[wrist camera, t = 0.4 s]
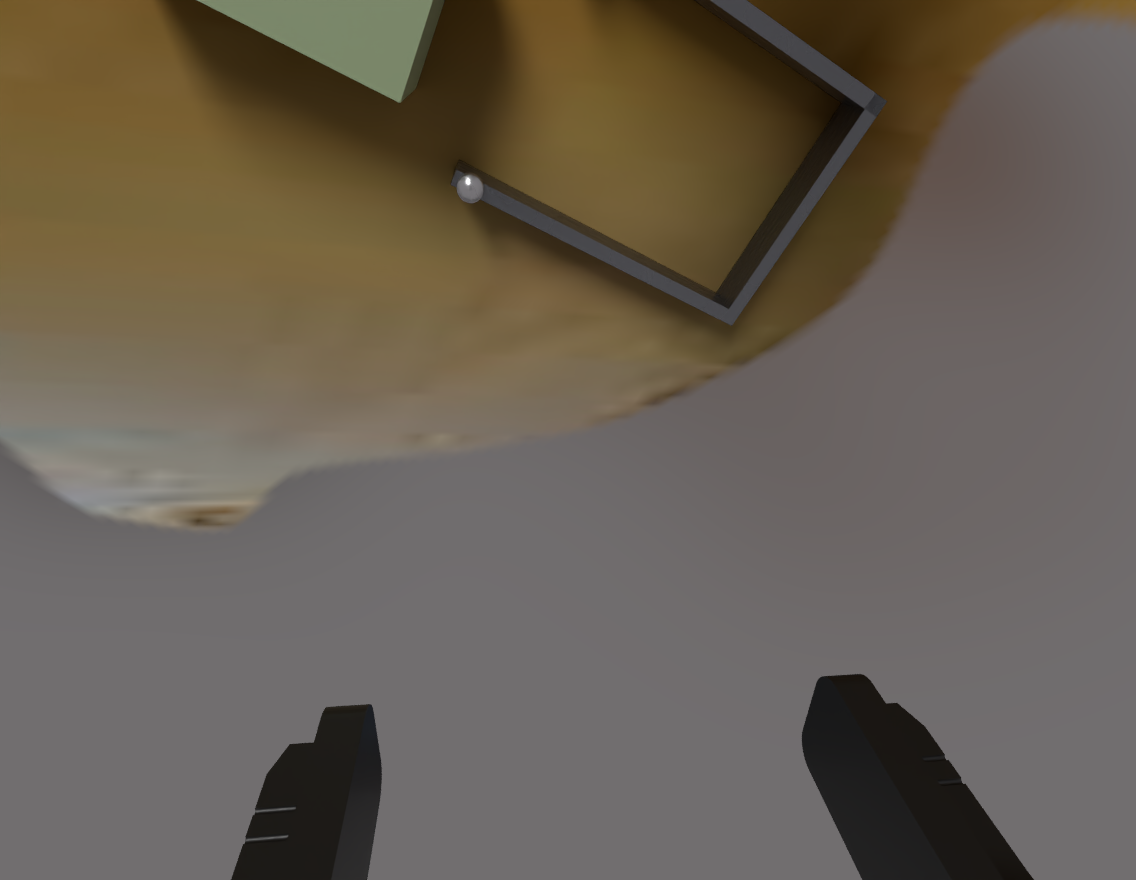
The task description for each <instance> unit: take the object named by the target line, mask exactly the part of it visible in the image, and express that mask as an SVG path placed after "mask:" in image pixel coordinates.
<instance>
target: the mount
mask: <svg viewBox="0 0 1136 880" xmlns="http://www.w3.org/2000/svg"><path fill="white" fill-rule="evenodd" d="M694 1H696V2H697V3H699V4H700V5H702V6H703V7H705V8H706V9H707V10H709V11H710V12H712V13H713V14H715V15H716V16H717V17H719V18H720V19H722V20H723V21H725V22H726V23H728V24H729V25H730V26H732V27H733V28H735V29H736V30H738V31H739V32H740V33H742V34H743V35H745V36H746V37H748V38H749V39H751V40H752V41H753V42H755V43H756V44H758V45H759V46H761V47H762V48H763V49H765V50H766V51H768V52H769V53H771V54H772V55H774V56H775V57H776V58H778V59H779V60H781V61H782V62H784V63H785V64H786V65H788V66H789V67H791V68H792V69H794V70H795V71H797V72H798V73H799V74H801V75H802V76H804V77H805V78H807V79H808V80H809V81H811V82H812V83H814V84H815V85H817V86H818V87H820V88H821V89H822V90H824V91H825V92H827V93H828V94H830V95H831V96H832V97H834V98H835V99H837V100H838V101H840V102H841V105H840V106H839V108H838V109H837V111H836V112H835V114H834V115H833V117H832V118H831V120H830V121H829V123H828V124H827V126H826V127H825V129H824V130H823V132H822V133H821V135H820V136H819V138H818V139H817V141H816V143H815V144H814V146H813V147H812V149H811V150H810V152H809V153H808V155H807V156H806V158H805V159H804V161H803V162H802V164H801V165H800V167H799V168H798V170H797V171H796V173H795V174H794V176H793V177H792V179H791V180H790V182H789V183H788V185H787V186H786V188H785V189H784V191H783V193H782V194H781V196H780V197H779V199H778V200H777V202H776V203H775V205H774V206H773V208H772V209H771V211H770V212H769V214H768V215H767V217H766V218H765V220H764V221H763V223H762V224H761V226H760V227H759V229H758V230H757V232H756V233H755V235H754V236H753V238H752V239H751V241H750V242H749V244H748V246H747V247H746V249H745V250H744V252H743V253H742V255H741V256H740V258H739V259H738V261H737V262H736V264H735V265H734V267H733V268H732V270H731V271H730V273H729V274H728V276H727V277H726V279H725V280H724V282H723V283H722V285H721V286H720V288H719V289H718V291H717V292H716V293H715V292H713V291H712V290H710V289H708V288H706V287H704V286H702V285H700V284H698V283H696V282H694V281H692V280H690V279H688V278H686V277H684V276H683V275H681V274H679V273H677V272H675V271H673V270H671V269H669V268H667V267H665V266H663V265H661V264H659V263H657V262H656V261H654V260H652V259H650V258H648V257H646V256H644V255H642V254H640V253H638V252H636V251H634V250H632V249H630V248H629V247H627V246H625V245H623V244H621V243H619V242H617V241H615V240H613V239H611V238H609V237H607V236H605V235H603V234H601V233H600V232H598V231H596V230H594V229H592V228H590V227H588V226H586V225H584V224H582V223H580V222H578V221H576V220H574V219H573V218H571V217H569V216H567V215H565V214H563V213H561V212H559V211H557V210H555V209H553V208H551V207H549V206H547V205H546V204H544V203H542V202H540V201H538V200H536V199H534V198H532V197H530V196H528V195H526V194H524V193H522V192H520V191H519V190H517V189H515V188H513V187H511V186H509V185H507V184H505V183H503V182H501V181H499V180H497V179H495V178H493V177H491V176H490V175H488V174H486V173H484V172H482V171H480V170H478V169H476V168H474V167H472V166H470V165H468V164H466V163H464V162H463V161H461V160H459V162H458V164H457V167H456V169H455V172H454V174H453V178H452V182H451V185H452V186H454V187H456V188H457V193H458V195H459V197H460V198H461V199H462V200H463V201H465V202H467V203H475V202H477V201H479V200H482V201H484V202H486V203H488V204H490V205H492V206H494V207H496V208H498V209H500V210H502V211H504V212H506V213H508V214H510V215H512V216H514V217H516V218H518V219H520V220H522V221H524V222H526V223H528V224H530V225H532V226H534V227H536V228H538V229H540V230H542V231H544V232H546V233H548V234H550V235H552V236H554V237H556V238H558V239H560V240H562V241H564V242H566V243H568V244H570V245H572V246H574V247H576V248H578V249H580V250H582V251H584V252H586V253H588V254H590V255H592V256H594V257H596V258H598V259H600V260H602V261H604V262H606V263H608V264H610V265H612V266H614V267H616V268H618V269H620V270H622V271H624V272H626V273H628V274H630V275H632V276H634V277H636V278H638V279H640V280H642V281H644V282H646V283H648V284H650V285H652V286H654V287H655V288H657V289H659V290H661V291H663V292H665V293H667V294H669V295H671V296H673V297H675V298H677V299H679V300H681V301H683V302H685V303H687V304H689V305H691V306H693V307H695V308H697V309H699V310H701V311H703V312H705V313H707V314H709V315H711V316H713V317H715V318H717V319H719V320H721V321H723V322H725V323H727V324H729V325H731V326H732V325H733V323H734V322H735V320H736V319H737V318H738V316H739V315H740V313H741V312H742V310H743V309H744V307H745V306H746V305H747V303H748V302H749V300H750V299H751V297H752V296H753V294H754V293H755V292H756V290H757V289H758V287H759V286H760V284H761V283H762V281H763V280H764V279H765V277H766V276H767V274H768V273H769V271H770V270H771V268H772V267H773V266H774V264H775V263H776V261H777V260H778V258H779V257H780V255H781V254H782V253H783V251H784V250H785V248H786V247H787V245H788V244H789V242H790V241H791V240H792V238H793V237H794V235H795V234H796V232H797V231H798V229H799V228H800V227H801V225H802V224H803V222H804V221H805V219H806V218H807V216H808V215H809V214H810V212H811V211H812V209H813V208H814V206H815V205H816V203H817V202H818V201H819V199H820V198H821V196H822V195H823V193H824V192H825V190H826V189H827V188H828V186H829V185H830V183H831V182H832V180H833V179H834V177H835V176H836V175H837V173H838V172H839V170H840V169H841V167H842V166H843V164H844V163H845V162H846V160H847V159H848V157H849V156H850V154H851V153H852V151H853V150H854V149H855V147H856V146H857V144H858V143H859V141H860V140H861V138H862V137H863V136H864V134H865V133H866V131H867V130H868V128H869V127H870V125H871V124H872V123H873V121H874V120H875V118H876V117H877V115H878V114H879V112H880V111H881V110H882V108H883V107H884V105H885V104H886V102H887V101H886V100H884V99H883V98H882V97H880V96H879V95H877V94H876V93H875V92H873V91H872V90H871V89H869V88H868V87H866V86H865V85H864V84H862V83H861V82H859V81H858V80H857V79H855V78H854V77H852V76H851V75H850V74H848V73H847V72H845V71H844V70H843V69H841V68H840V67H839V66H837V65H836V64H834V63H833V62H832V61H830V60H829V59H827V58H826V57H825V56H823V55H822V54H820V53H819V52H818V51H816V50H815V49H814V48H812V47H811V46H809V45H808V44H807V43H805V42H804V41H802V40H801V39H800V38H798V37H797V36H795V35H794V34H793V33H791V32H790V31H789V30H787V29H786V28H784V27H783V26H782V25H780V24H779V23H777V22H776V21H775V20H773V19H772V18H770V17H769V16H768V15H766V14H765V13H763V12H762V11H761V10H759V9H758V8H757V7H755V6H754V5H752V4H751V3H750V2H748V1H747V0H694Z"/></svg>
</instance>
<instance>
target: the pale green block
mask: <svg viewBox="0 0 1136 880" xmlns="http://www.w3.org/2000/svg"><path fill="white" fill-rule="evenodd" d="M197 1H199V2H201V3H203V4H205V5H207V6H209V7H211V8H213V9H215V10H217V11H219V12H221V13H223V14H225V15H227V16H229V17H231V18H233V19H235V20H237V21H239V22H241V23H243V24H245V25H247V26H249V27H251V28H253V29H255V30H257V31H259V32H261V33H263V34H264V35H266V36H268V37H270V38H272V39H274V40H276V41H278V42H280V43H282V44H284V45H286V46H288V47H290V48H292V49H294V50H296V51H298V52H300V53H302V54H304V55H306V56H308V57H310V58H312V59H314V60H316V61H318V62H320V63H322V64H324V65H326V66H328V67H330V68H332V69H334V70H336V71H338V72H340V73H341V74H343V75H345V76H347V77H349V78H351V79H353V80H355V81H357V82H359V83H361V84H363V85H365V86H367V87H369V88H371V89H373V90H375V91H377V92H379V93H381V94H383V95H385V96H387V97H389V98H391V99H393V100H395V101H397V102H399V103H401V102H402V101H403V100H404V99H405V98H406V97H407V96H408V95H410V94H411V93H412V92H413V91H414V90H415V89H416V87H417V84H418V81H419V78H420V75H421V72H422V69H423V66H424V63H425V59H426V56H427V53H428V50H429V47H430V44H431V41H432V38H433V35H434V32H435V29H436V26H437V23H438V20H439V17H440V14H441V11H442V7H443V4H444V1H445V0H197Z"/></svg>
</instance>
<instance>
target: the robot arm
mask: <svg viewBox="0 0 1136 880" xmlns="http://www.w3.org/2000/svg"><path fill="white" fill-rule="evenodd" d="M802 747H803V753H804V757H805V760H806V764H807V766H808V769H809V771H810V773H811V775H812V777H813V779H814V781H815V783H816V785H817V787H818V789H819V791H820V793H821V795H822V797H823V799H824V802H825V804H826V806H827V808H828V810H829V812H830V814H831V816H832V818H833V820H834V822H835V824H836V826H837V828H838V831H839V833H840V834H841V837H842V839H843V841H844V843H845V845H846V847H847V849H848V851H849V853H850V855H851V857H852V859H853V861H854V863H855V865H856V868H857V870H858V871H859V874H860V876H861V878H862V880H1034V879H1033V878H1032V877H1031V875H1030V874H1029V873H1028V871H1027V870H1026V869H1025V867H1024V866H1023V864H1022V863H1021V862H1020V860H1019V859H1018V857H1017V856H1016V855H1015V853H1014V852H1013V850H1012V849H1011V847H1010V846H1009V845H1008V843H1007V842H1006V840H1005V839H1004V838H1003V836H1002V835H1001V833H1000V832H999V830H998V829H997V828H996V826H995V825H994V824H993V822H992V821H991V819H990V818H989V816H988V815H987V814H986V812H985V811H984V809H983V808H982V807H981V805H980V804H979V802H978V801H977V800H976V798H975V797H974V795H973V794H972V792H971V791H970V790H969V788H968V787H967V785H966V784H963V783H962V781H961V777H960V776H959V774H958V773H957V771H956V770H955V768H954V767H953V766H952V764H951V763H950V762H949V760H946V759H945V754H944V753H943V752H942V750H941V749H940V747H939V746H938V744H937V743H936V742H935V740H934V739H933V737H932V736H931V735H930V733H929V732H928V730H927V729H926V728H925V726H924V725H922V724H921V723H920V722H919V721H918V720H917V719H915V718H914V717H913V716H912V715H911V714H909V713H908V712H907V711H906V710H905V709H903V708H902V707H901V706H900V705H899V704H898V703H889V704H886V703H885V702H884V700H883V698H882V697H881V695H880V694H879V693H878V691H877V690H876V688H875V687H874V685H873V684H872V683H871V681H870V680H869V679H868V678H867V677H866V676H864V675H862V674H854V675H838V676H824V677H820V678H819V679H818V681H817V683H816V687H815V690H814V694H813V697H812V700H811V704H810V707H809V710H808V714H807V717H806V721H805V725H804V728H803V732H802ZM381 772H382V767H381V758H380V752H379V744H378V738H377V732H376V725H375V719H374V712H373V707H372V705H370V704H366V705H351V706H336V707H326V708H325V710H324V711H323V713H322V716H321V720H320V723H319V726H318V730H317V734H316V737H315V741H314V743H300V744H290V745H289V746H288V747H287V749H286V750H285V751H284V753H283V754H282V755H281V757H280V758H279V759H278V760H277V762H276V763H275V764H274V766H273V767H272V768H271V769H270V771H269V772H268V774H267V776H266V778H265V781H264V784H263V788H262V790H261V793H260V796H259V799H258V802H257V805H256V808H255V815H253V817H252V820H251V823H250V825H249V828H248V831H247V834H246V841H245V844H243V846H242V849H241V852H240V855H239V858H238V861H237V864H236V867H235V870H234V873H233V876H232V879H231V880H367V877H368V870H369V865H370V858H371V852H372V846H373V840H374V834H375V828H376V821H377V815H378V809H379V802H380V794H381V780H382V773H381Z"/></svg>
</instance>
